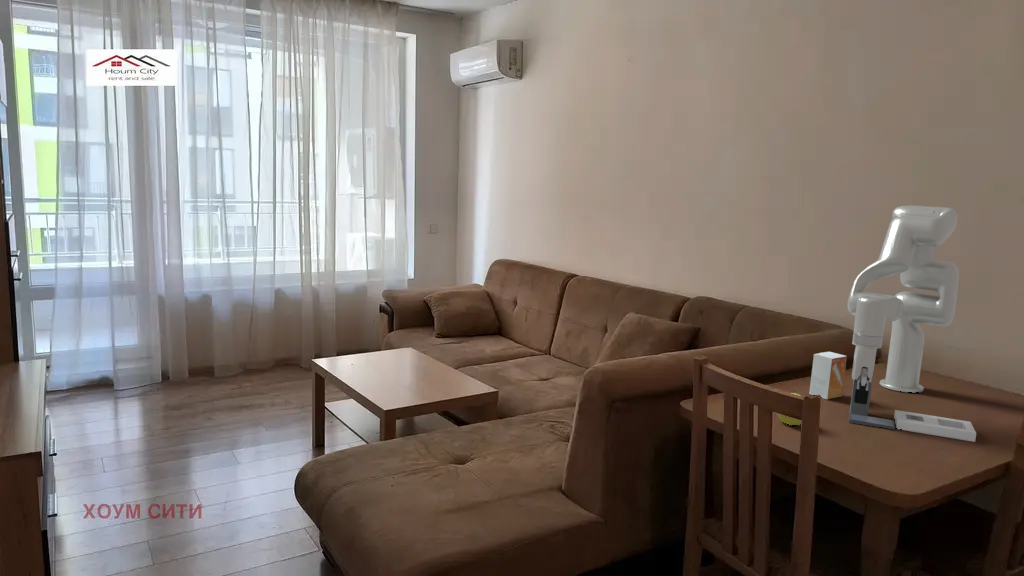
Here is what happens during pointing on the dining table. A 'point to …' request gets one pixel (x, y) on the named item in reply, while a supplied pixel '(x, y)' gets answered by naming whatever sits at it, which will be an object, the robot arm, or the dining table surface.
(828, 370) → the small box
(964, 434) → the outlet plate
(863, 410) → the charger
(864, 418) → the phone
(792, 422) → the apple
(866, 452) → the dining table surface
